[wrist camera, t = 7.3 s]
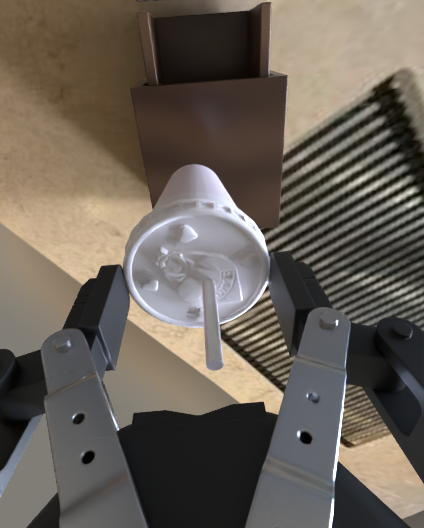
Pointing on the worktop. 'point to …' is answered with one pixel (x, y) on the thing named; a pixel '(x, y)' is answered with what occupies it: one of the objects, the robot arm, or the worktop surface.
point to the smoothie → (196, 258)
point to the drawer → (206, 46)
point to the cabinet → (217, 137)
